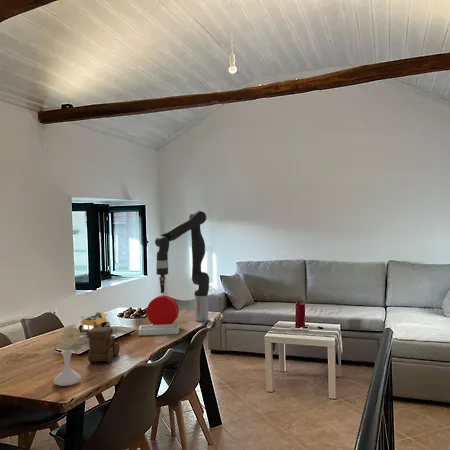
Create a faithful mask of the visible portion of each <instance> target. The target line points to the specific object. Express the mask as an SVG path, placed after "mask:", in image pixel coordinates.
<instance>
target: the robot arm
mask: <svg viewBox="0 0 450 450" xmlns="http://www.w3.org/2000/svg"><path fill="white" fill-rule="evenodd" d="M188 217H189V218H188V220H186V221H185V222H182V223H180V224H177V225H176V226H174V227H172V228H171V229H170V230H168V231H167V232H164V233H162V234H161V235H158V236H157V237H156V238H155V240H154V244H155V246H156V247H158V251H157V253H156V265H155V266H156V275H158V276H159V278H158V279H159V285H160V286H159V287H160V293H161V294H165V285H166V275H169V260H168V259H169V258H168V257H169V256H168V253H169V249H170V242H172V241H175V240H177V239H178V238H180V237H181V236H183V235H184V234H186V233H187V232H189V231H190V235H191V253H192V255H191V260H192V261H191V262H192V263H191V265H192V267H191V268H192V269H191V281H192V284H194V285H197V286H198V289H196V290H194V321H195V320H196V322H207V321H208V320H209V296H208V295H209V292H210V276H209V274H208V272H206V271H205V272H204V271H202V262H203V260H204V257H205V255H206V243H205V239H204V237H203V233H202V232H201V231H202V230H201V225H202V224H204V223H205V222H206V220H207V214H206V212H204V211H202V210H194V211H191V213H189V216H188Z"/></svg>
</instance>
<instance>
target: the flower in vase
mask: <svg viewBox="0 0 450 450" xmlns="http://www.w3.org/2000/svg"><path fill="white" fill-rule="evenodd" d="M81 336H82V334H81V331H80V330H79V327H78V328H77V327H74V326H70V327H67V328H66V329H64V331H63V332H62V334H61V337H60V338H61V341H62V343H63V344H65V345H63V344H62V343H60V345H61V346H62V347H63V348H66V349H67V350H66V349H65V350H62V351H61V352H60V353H61V355H62V356H63V361H64V368H63V369H62V371H61V372H59V374H57V375H56V376H55V378H54V379H53V383H54V385H56V386H61V387H68V385H69V386H73V385H75V384H77V383H80V381H81V380H82V376H81V374H79V373H78V372H77V371H76V370H74V369H72V368H71V357H72V355H73V352H74V350H75V351H77V350H81V349H82V348H81V345H79V344H78V342H79V339H80V338H81ZM66 345H67V346H66ZM68 346H70V347H68ZM71 348H72V349H73V350H71Z"/></svg>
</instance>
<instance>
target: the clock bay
mask: <svg viewBox="0 0 450 450" xmlns="http://www.w3.org/2000/svg"><path fill="white" fill-rule="evenodd" d="M178 333H179V334H180V324H179V323H173V324H165V325H153V324H149V325H148V324H147V325H146V324H145V325H144V324H143V325H139V326H138V336H155V335H157V336H158V335H176V334H177V335H179V334H178Z"/></svg>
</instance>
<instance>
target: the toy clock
mask: <svg viewBox="0 0 450 450" xmlns="http://www.w3.org/2000/svg"><path fill="white" fill-rule="evenodd" d="M179 310H180V309H179V305H178V303H177V301H175V299H174V298H173V297H171V296H169V295H165V294H164V295H163V294H162V295H158V296H156V297H155V298H153V299H152V300H151V301H149V303H148V305H147V306H146V316H147V319H148V321H149V322H150V324H151V325H165V324H174V323H175V322H176V320H177V318H178V317H179V312H180V311H179Z"/></svg>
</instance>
